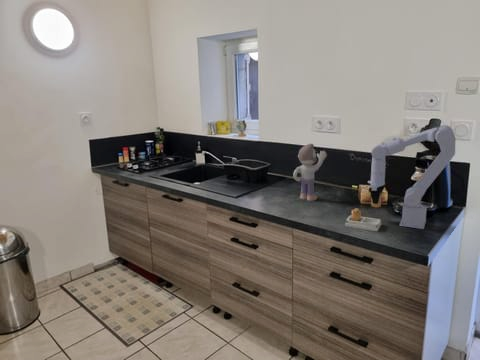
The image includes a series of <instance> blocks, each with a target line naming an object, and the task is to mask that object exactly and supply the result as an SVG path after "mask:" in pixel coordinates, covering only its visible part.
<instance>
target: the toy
mask: <svg viewBox="0 0 480 360" xmlns="http://www.w3.org/2000/svg"><path fill="white" fill-rule="evenodd" d="M314 145H315V144H313V143H307V144H305V145H304V146H302V147H300V149H299V151H298V155H297V158H298V160H299V162H300V163H301V165H299V166H297V167H296V168H295V169H294V171H293V174H292V175H293V176H292V178H293V179H294V180H295V181H296V182H301V184H300V185H301V186H300V188H301V189H300V196H299V199H301V200H307V201H310V202H312V201H316V200H317V199H318V196H317V195H316V193H315V185H314V184H315V180H316V178H315V172H317V171H319V169H320V167H321V166H322V164H323V162H324V161H325V159H326V158H327V156H328V154H327V151H325V150H320V152H319V153H316V152H317V150H315V148H314ZM317 158H318V161H317ZM316 162H317V163H316ZM298 174H300V176H298Z"/></svg>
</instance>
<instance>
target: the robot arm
mask: <svg viewBox="0 0 480 360" xmlns="http://www.w3.org/2000/svg"><path fill="white" fill-rule="evenodd" d="M426 141H427V142H435V141H436V142H437V144H438V145H439V148H440V152H439V154H438V155H437V156H435V158H434V160H433V161H432V162H431V164H430V165H429V166H428V167H427V169H425V171H424V172H423V174H422V175H421V176H420V177H419V179H418V180H417V181H416V182H415V183H414V184H413V185H412V186H411V187H409V188H408V189H406V191H405V195H404V198H403V201H404V202H403V203H402V210H401V211H402V213H401V220H400V222H399V227H407V228H414V229H420V230H424V229H425V225H426V223H427V209H428V208H427V207H428V206H426V205H425V206H424V205H422V203H421V200H422V198H423V196H424V195H425V194H426V192H427V190H428V188H429V187H431V185H432V183H434V181H435V180H436V178H437V177H439V175H440V174H441V172H442V171H443V170H444V168H445V167H446V166H447V165H448V164H449V163H450V161H451V160H452V159H453V157H455V155H456V137H455V133H454V130H453V128H452V127H451V126H449V125H446V124H445V125H440V126H439V127H432V128H429V129H426V130H424V131H421V132H419V133H417V134H413V135H412V136H409V137H406V138H400V137H397V138H396V137H393V138H392V139H391V140H389V141H387V142H381V144H377V145H375V146H374V147H373V149H372V150H371V156H372V158H371V170H370V171H371V172H370V180H368V181H367V183H368V184H370V186H371V187H368V190H369V191H370V192H369V193H370V196H371V200H372V202H373V203H374V204H378V202H379V197H380V194H381V196H382V194H383V191H384V189H385V187H386V181H385V179H386V164H387V163H386V156H389V157H390V156H392V155H395V154H398V153H401V152H404V151H405V149H406V147H409V146H413V145H416V144H418V143H422V142H426Z"/></svg>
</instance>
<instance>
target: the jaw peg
mask: <svg viewBox="0 0 480 360" xmlns="http://www.w3.org/2000/svg"><path fill="white" fill-rule="evenodd" d="M367 192H368V193H370V191H369V189H368V191H367ZM370 200H371V202H370V203H371V207H373V208H381V207H382V195H381V194H380V197H379V202H378V204H374V203H373V202H372V199H370Z"/></svg>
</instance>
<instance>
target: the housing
mask: <svg viewBox="0 0 480 360" xmlns="http://www.w3.org/2000/svg"><path fill="white" fill-rule="evenodd" d="M381 220H382V219H381V218H373V217H367V216H366V217H365V216H362V210H361V209H359V208H356V207H355V208H354V209H351V214H349V216H348V217H347V218H346V220H345V224H344V226H345V227H347V228H353V229H359V230H365V231H371V232H379V229H380V228H381V226H382V221H381Z"/></svg>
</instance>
